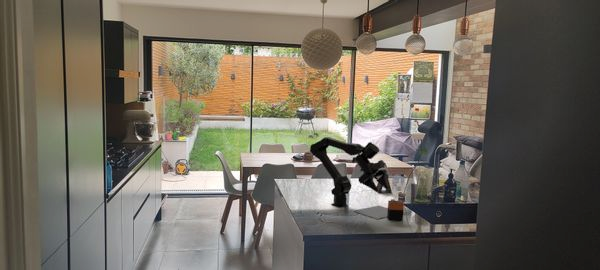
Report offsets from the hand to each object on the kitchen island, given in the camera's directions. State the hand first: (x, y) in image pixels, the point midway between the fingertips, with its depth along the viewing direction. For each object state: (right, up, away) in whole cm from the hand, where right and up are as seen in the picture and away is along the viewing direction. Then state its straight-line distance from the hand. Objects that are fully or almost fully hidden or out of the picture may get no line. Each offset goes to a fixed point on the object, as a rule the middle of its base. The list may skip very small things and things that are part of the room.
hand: (382, 190), depth 212 cm
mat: (-1, -13, +8) cm, 15 cm away
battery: (+5, -14, -4) cm, 16 cm away
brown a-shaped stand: (+11, -8, +55) cm, 57 cm away
